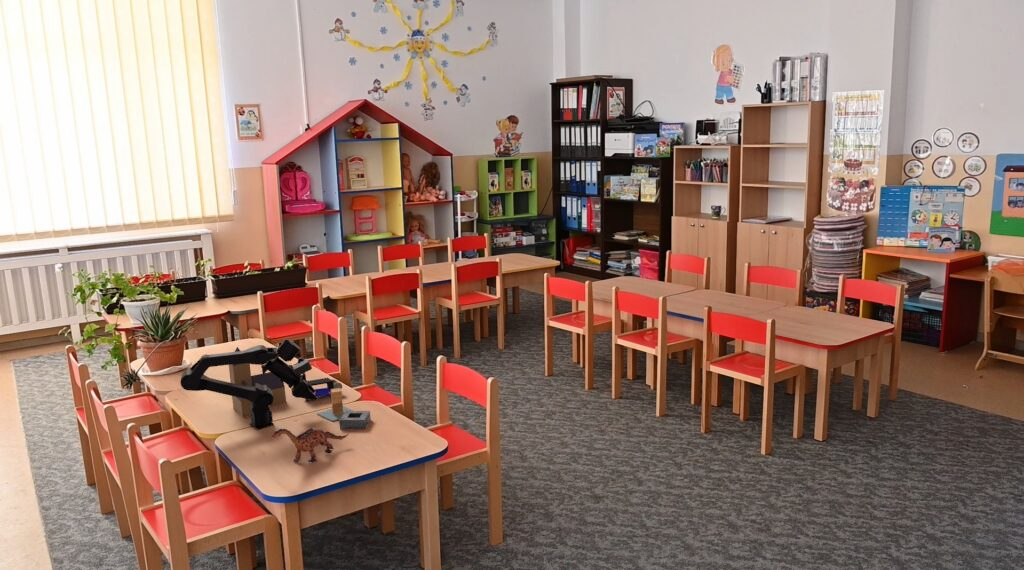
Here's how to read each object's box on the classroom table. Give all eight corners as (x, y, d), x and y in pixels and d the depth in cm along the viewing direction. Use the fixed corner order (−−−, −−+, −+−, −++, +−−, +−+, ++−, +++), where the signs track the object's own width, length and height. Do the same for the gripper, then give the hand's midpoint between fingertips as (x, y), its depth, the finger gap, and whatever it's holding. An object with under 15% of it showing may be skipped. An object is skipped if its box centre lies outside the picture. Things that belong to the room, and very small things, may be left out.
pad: (332, 421, 290) (332, 420, 290) (317, 414, 298) (317, 413, 298) (358, 413, 297) (358, 412, 297) (342, 406, 305) (342, 405, 305)
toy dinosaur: (267, 474, 248) (262, 429, 245) (332, 440, 273) (329, 399, 270) (286, 480, 244) (282, 434, 241) (351, 444, 269) (348, 402, 266)
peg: (343, 413, 297) (341, 390, 295) (333, 415, 296) (331, 392, 294) (342, 410, 300) (340, 387, 298) (332, 411, 299) (330, 389, 297)
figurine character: (335, 394, 325) (299, 398, 316) (336, 375, 324) (300, 379, 315) (342, 398, 319) (306, 403, 310) (342, 380, 318) (306, 383, 309)
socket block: (364, 429, 282) (364, 419, 282) (340, 429, 283) (339, 420, 282) (370, 419, 291) (369, 410, 290) (346, 419, 292) (345, 410, 291)
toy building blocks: (233, 408, 308) (226, 346, 302) (280, 397, 318) (275, 337, 313) (242, 417, 297) (236, 353, 292) (291, 406, 308) (285, 344, 303)
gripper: (299, 360, 280) (333, 386, 286) (295, 347, 297) (327, 371, 303) (278, 384, 279) (312, 410, 285) (275, 369, 296) (307, 394, 302)
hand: (315, 395), depth 294 cm, fingers open, 9 cm apart
